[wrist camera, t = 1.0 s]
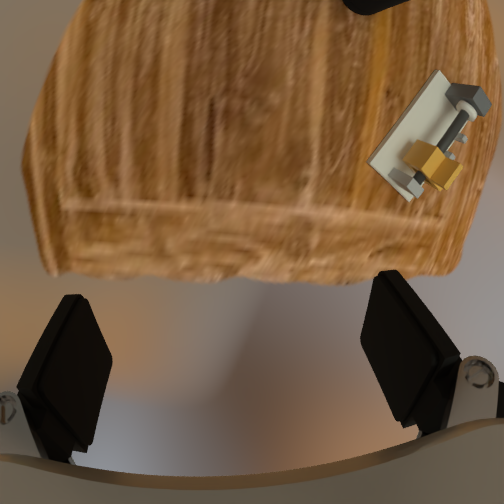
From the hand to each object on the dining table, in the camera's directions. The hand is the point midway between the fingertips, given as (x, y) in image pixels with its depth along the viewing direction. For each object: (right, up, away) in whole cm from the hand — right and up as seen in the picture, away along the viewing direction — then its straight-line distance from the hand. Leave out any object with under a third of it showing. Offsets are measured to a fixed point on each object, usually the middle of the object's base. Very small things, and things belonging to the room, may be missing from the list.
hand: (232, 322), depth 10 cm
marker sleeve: (+25, +15, +29) cm, 41 cm away
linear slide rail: (+27, +20, +31) cm, 46 cm away
